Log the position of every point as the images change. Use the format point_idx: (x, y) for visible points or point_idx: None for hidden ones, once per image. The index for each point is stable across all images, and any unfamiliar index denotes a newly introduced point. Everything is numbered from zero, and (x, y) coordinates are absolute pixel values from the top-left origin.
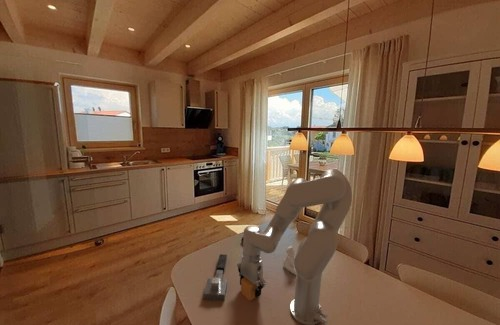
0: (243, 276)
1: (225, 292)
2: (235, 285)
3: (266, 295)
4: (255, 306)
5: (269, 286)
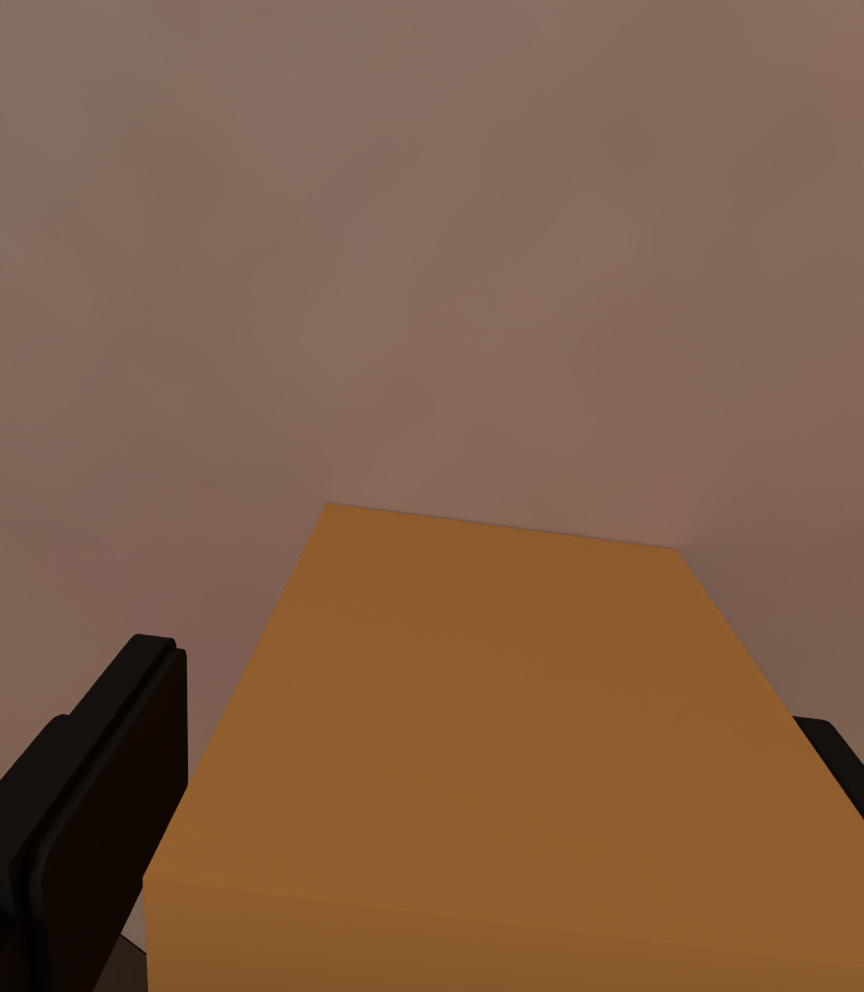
0: (39, 967)
1: (100, 988)
2: (46, 692)
3: (858, 484)
4: None
5: (805, 107)
